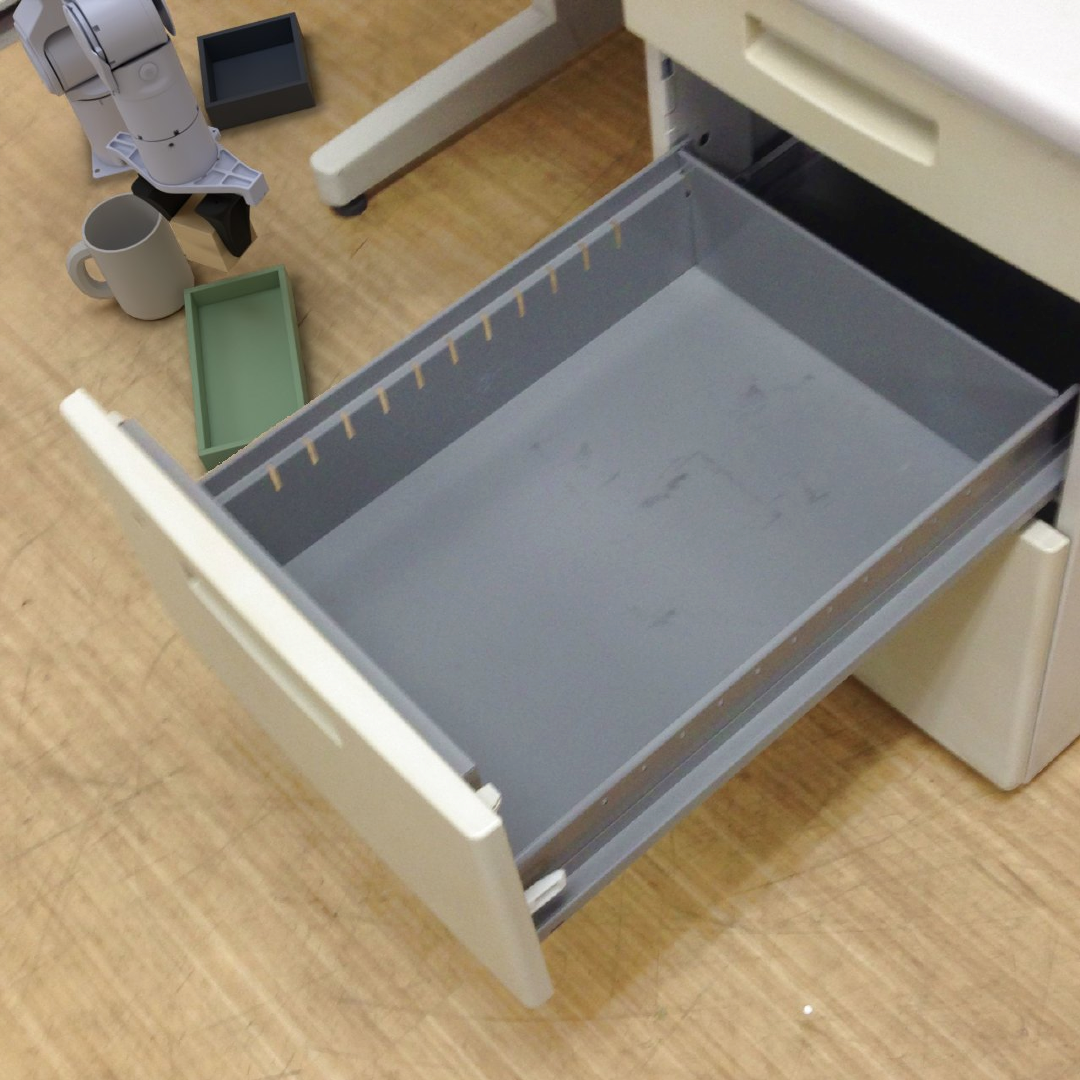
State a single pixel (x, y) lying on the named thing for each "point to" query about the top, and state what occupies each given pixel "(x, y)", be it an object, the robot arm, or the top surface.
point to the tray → (243, 359)
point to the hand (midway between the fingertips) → (219, 241)
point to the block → (202, 237)
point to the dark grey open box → (255, 72)
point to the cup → (131, 258)
